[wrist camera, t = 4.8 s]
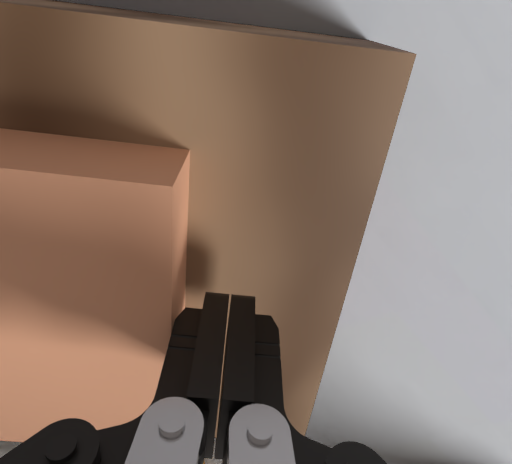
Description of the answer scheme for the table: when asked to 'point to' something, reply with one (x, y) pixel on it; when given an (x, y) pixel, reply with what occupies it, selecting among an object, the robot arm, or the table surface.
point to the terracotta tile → (87, 276)
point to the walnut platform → (228, 146)
